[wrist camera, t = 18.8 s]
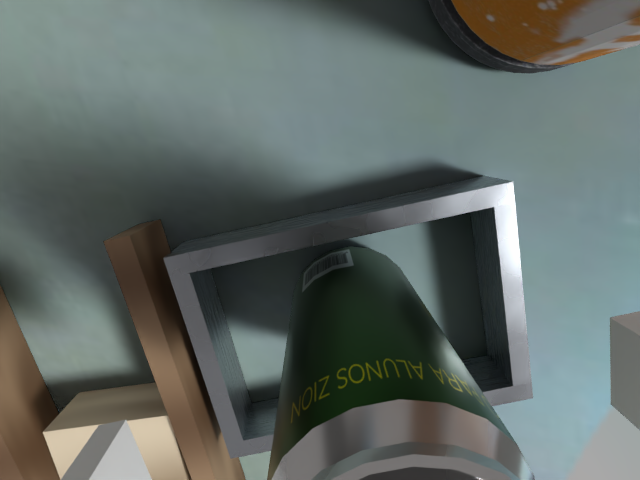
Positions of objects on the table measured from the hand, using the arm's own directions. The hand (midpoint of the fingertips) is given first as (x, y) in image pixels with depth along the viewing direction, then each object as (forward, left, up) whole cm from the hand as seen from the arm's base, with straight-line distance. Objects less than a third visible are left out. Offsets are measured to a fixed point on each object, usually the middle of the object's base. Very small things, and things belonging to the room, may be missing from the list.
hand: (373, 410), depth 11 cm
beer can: (0, 0, -8) cm, 8 cm away
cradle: (+1, 0, -8) cm, 8 cm away
